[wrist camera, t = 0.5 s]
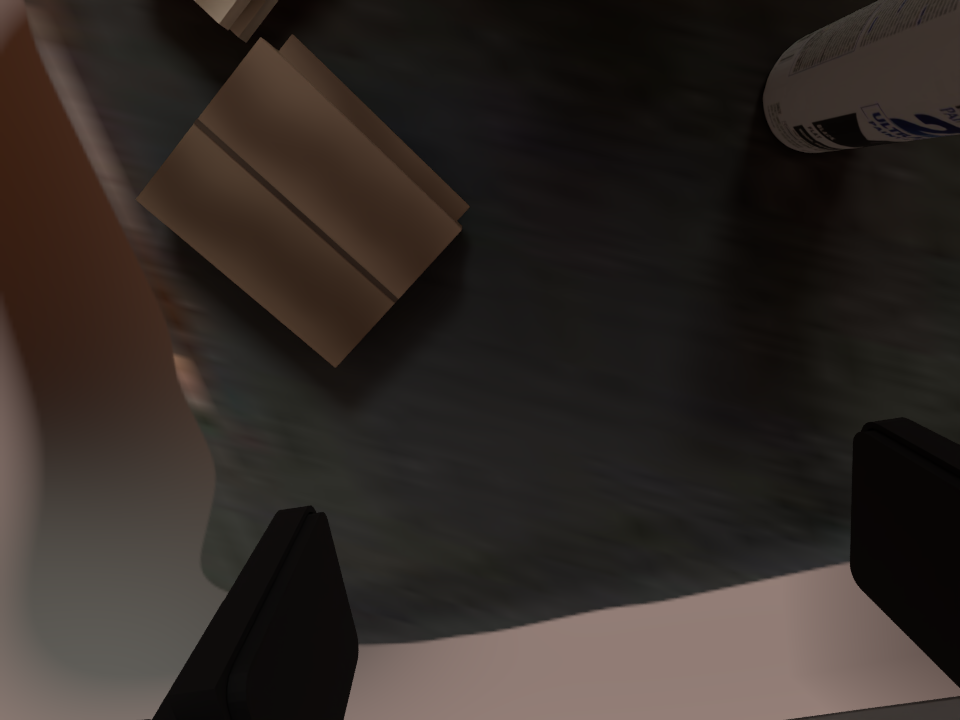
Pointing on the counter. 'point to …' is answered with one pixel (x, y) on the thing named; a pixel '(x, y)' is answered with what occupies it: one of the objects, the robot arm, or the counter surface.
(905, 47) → the spray can
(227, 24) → the maple plank
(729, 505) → the counter surface
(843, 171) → the counter surface
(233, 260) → the brown grooved flat slab
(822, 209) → the counter surface
